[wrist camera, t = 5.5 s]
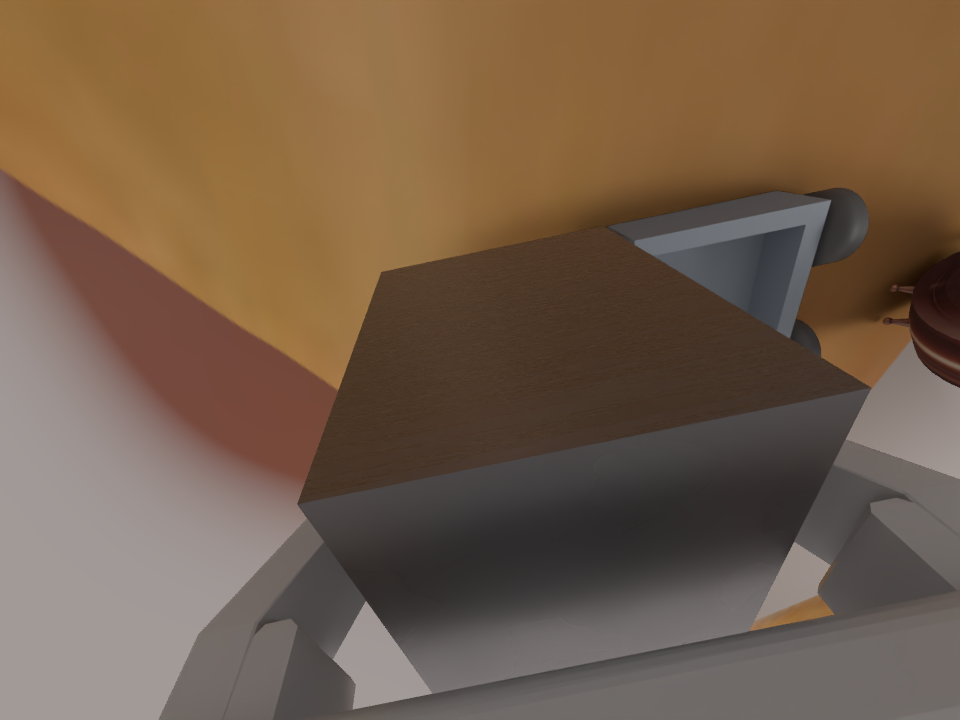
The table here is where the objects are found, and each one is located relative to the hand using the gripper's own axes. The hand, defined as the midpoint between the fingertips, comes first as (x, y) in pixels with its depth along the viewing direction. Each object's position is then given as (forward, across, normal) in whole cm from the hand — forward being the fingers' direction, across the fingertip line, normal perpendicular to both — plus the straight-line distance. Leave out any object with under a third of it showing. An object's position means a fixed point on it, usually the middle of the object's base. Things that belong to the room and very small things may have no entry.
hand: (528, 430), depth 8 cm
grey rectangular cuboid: (+2, 0, 0) cm, 2 cm away
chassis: (+15, -13, +7) cm, 21 cm away
